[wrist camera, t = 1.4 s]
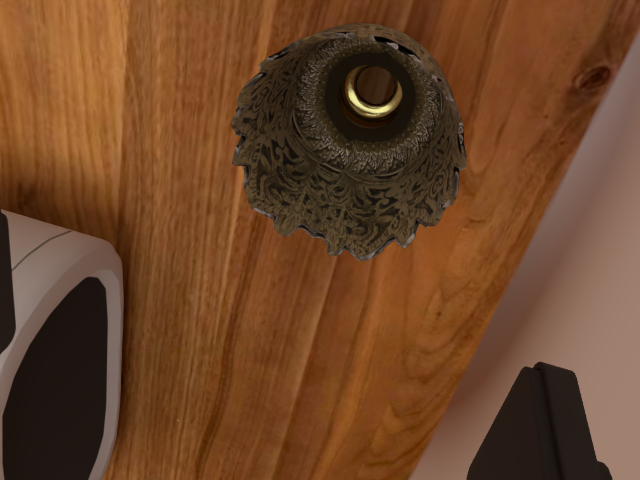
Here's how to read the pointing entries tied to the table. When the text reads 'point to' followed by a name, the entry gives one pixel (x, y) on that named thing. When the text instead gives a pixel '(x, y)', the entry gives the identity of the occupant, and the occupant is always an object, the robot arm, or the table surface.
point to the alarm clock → (61, 354)
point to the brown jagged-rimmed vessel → (350, 140)
